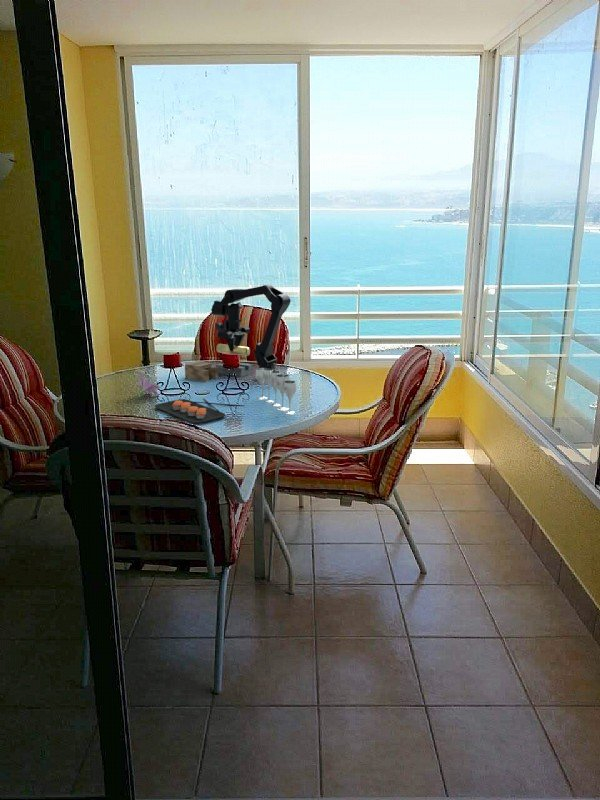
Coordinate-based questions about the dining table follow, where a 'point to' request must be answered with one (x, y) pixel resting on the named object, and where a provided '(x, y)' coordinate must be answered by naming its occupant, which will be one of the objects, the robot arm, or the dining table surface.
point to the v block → (236, 370)
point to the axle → (236, 350)
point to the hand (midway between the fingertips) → (234, 350)
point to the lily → (147, 385)
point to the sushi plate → (192, 410)
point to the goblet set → (276, 386)
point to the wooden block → (200, 371)
